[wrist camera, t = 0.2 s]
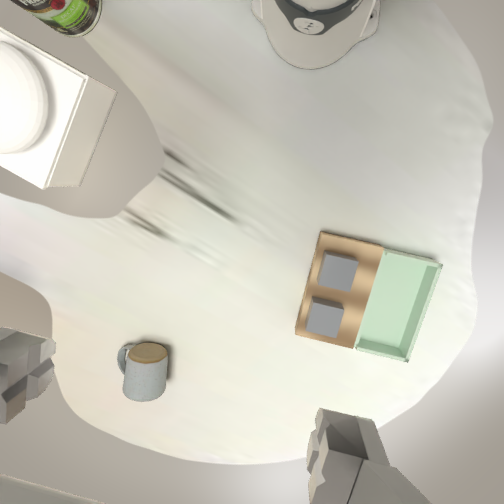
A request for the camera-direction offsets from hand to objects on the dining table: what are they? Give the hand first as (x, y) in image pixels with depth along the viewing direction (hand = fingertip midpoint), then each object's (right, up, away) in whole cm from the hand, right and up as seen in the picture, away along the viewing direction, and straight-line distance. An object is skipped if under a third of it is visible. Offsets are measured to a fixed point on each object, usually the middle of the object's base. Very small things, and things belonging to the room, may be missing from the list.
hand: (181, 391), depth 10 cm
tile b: (+14, -6, +45) cm, 48 cm away
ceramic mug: (-18, -17, +54) cm, 60 cm away
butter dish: (-32, +27, +47) cm, 63 cm away
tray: (+26, -4, +47) cm, 54 cm away
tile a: (+16, +1, +43) cm, 46 cm away
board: (+17, -2, +47) cm, 50 cm away
